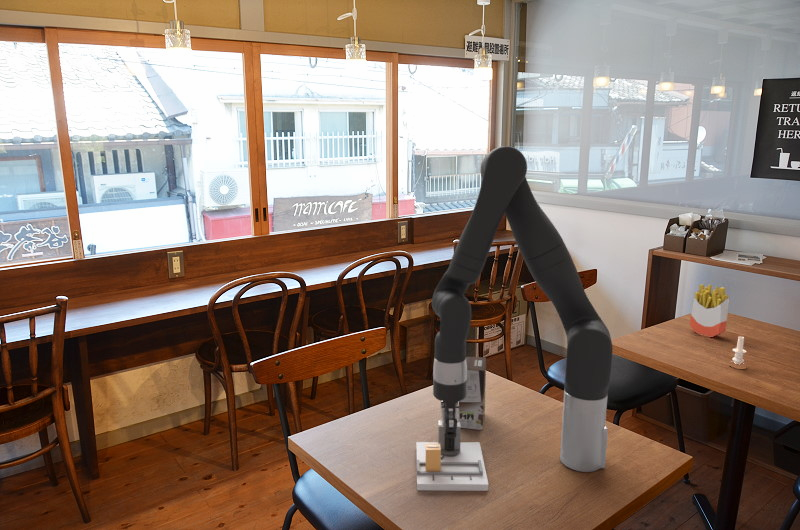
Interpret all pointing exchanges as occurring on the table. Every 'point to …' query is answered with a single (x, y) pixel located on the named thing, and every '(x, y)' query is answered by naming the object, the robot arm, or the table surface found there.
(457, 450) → the selector knob
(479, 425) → the coffee box
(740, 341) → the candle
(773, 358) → the table surface
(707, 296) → the french fries container
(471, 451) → the board
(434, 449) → the fader
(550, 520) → the table surface
